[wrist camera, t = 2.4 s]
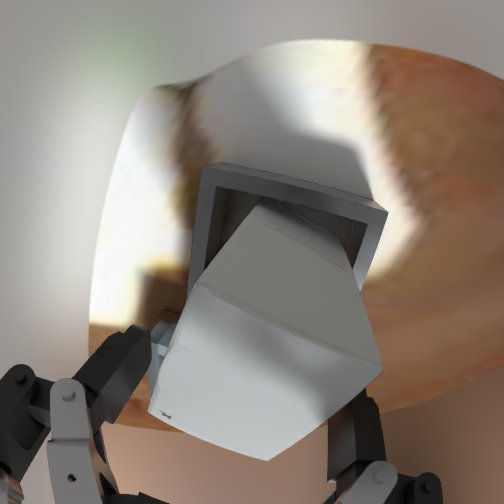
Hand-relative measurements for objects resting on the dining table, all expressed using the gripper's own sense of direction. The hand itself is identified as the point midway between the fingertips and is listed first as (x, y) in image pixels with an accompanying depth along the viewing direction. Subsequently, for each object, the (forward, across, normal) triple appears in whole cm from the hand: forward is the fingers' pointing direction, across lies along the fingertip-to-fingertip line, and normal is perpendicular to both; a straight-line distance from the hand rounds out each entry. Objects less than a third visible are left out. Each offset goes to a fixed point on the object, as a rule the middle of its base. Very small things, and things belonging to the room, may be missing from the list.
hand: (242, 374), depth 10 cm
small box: (+12, 0, 0) cm, 12 cm away
